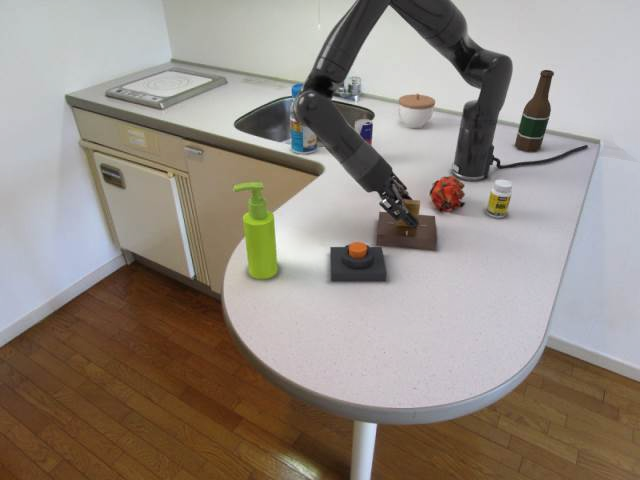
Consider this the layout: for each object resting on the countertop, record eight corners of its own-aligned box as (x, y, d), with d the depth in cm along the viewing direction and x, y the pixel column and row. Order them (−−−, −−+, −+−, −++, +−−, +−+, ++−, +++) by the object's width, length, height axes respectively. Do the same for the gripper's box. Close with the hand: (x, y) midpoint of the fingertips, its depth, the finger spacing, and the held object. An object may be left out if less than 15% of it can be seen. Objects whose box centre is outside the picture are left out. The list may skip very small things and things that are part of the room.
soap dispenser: (244, 263, 97) (234, 178, 86) (277, 261, 97) (271, 176, 86) (243, 280, 92) (232, 192, 81) (277, 278, 92) (271, 191, 81)
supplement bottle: (492, 219, 111) (500, 188, 106) (482, 210, 115) (489, 179, 110) (510, 216, 112) (518, 186, 107) (498, 207, 116) (506, 177, 111)
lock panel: (433, 226, 108) (435, 215, 107) (435, 250, 100) (437, 238, 99) (378, 222, 110) (379, 210, 108) (376, 245, 102) (376, 233, 100)
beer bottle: (513, 150, 145) (533, 72, 132) (514, 141, 151) (533, 66, 138) (540, 154, 143) (562, 75, 129) (540, 145, 149) (561, 69, 135)
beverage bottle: (292, 144, 150) (289, 82, 139) (317, 144, 150) (317, 82, 139) (289, 154, 143) (287, 90, 132) (316, 154, 143) (316, 90, 132)
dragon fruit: (448, 200, 122) (444, 228, 114) (424, 181, 120) (418, 209, 112) (472, 181, 116) (470, 210, 108) (447, 161, 115) (443, 189, 106)
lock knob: (416, 223, 104) (420, 199, 100) (417, 227, 102) (420, 203, 99) (397, 221, 105) (399, 197, 101) (396, 225, 103) (399, 201, 100)
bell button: (365, 248, 95) (366, 241, 94) (367, 259, 92) (367, 252, 91) (348, 248, 95) (348, 241, 94) (349, 259, 92) (349, 252, 91)
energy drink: (369, 164, 137) (372, 125, 131) (352, 162, 138) (353, 124, 131) (371, 156, 142) (374, 119, 135) (354, 155, 143) (356, 118, 136)
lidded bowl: (436, 122, 166) (441, 92, 160) (423, 133, 157) (428, 101, 151) (404, 116, 172) (408, 87, 166) (390, 126, 163) (393, 95, 157)
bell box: (380, 255, 99) (382, 239, 97) (385, 281, 92) (387, 265, 89) (330, 255, 99) (330, 239, 97) (331, 281, 92) (331, 265, 89)
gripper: (377, 169, 89) (430, 225, 94) (380, 141, 101) (428, 192, 106) (349, 191, 93) (401, 244, 98) (355, 162, 105) (402, 210, 110)
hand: (415, 217), depth 102 cm, fingers open, 6 cm apart
